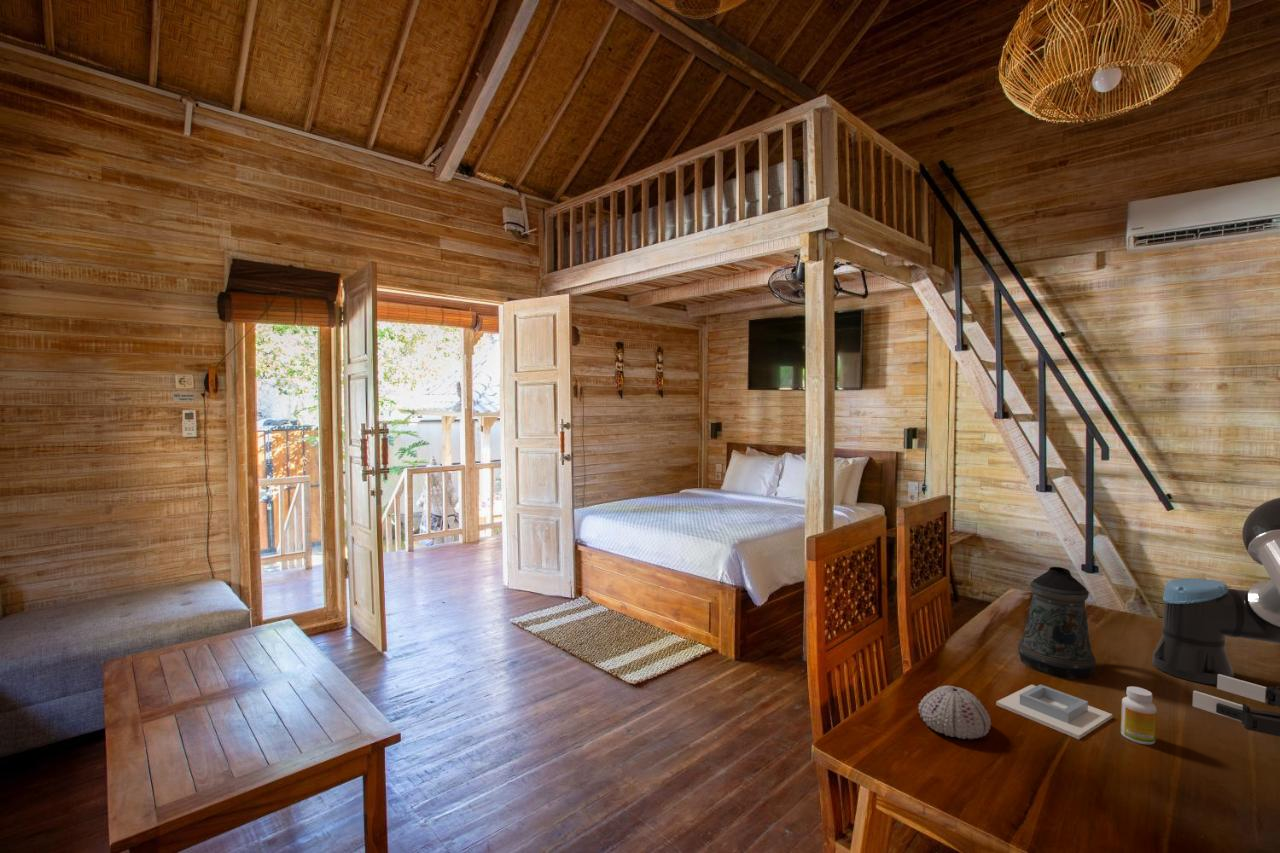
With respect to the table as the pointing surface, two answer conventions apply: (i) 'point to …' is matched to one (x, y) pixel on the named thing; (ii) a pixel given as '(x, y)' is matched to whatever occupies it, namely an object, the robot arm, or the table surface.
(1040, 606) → the beer stein
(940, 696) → the sea urchin shell
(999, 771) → the table surface
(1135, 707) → the supplement bottle
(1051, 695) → the socket
